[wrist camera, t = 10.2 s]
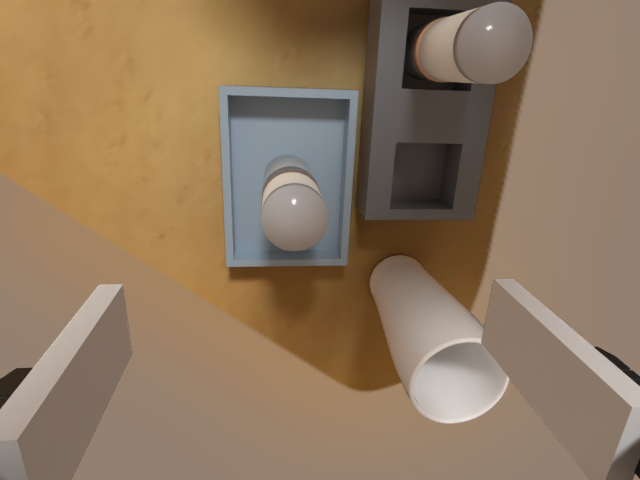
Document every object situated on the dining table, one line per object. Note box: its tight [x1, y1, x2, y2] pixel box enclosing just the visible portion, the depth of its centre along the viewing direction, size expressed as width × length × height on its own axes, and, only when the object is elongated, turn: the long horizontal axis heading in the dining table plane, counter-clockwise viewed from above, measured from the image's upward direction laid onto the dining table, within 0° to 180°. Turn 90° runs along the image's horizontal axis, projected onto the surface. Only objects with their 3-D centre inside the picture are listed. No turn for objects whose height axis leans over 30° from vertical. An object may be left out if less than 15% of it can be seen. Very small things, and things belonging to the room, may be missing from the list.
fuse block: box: [356, 0, 511, 220], centre depth 34 cm, size 16×9×4 cm, turn 178°
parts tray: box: [219, 85, 359, 267], centre depth 35 cm, size 14×10×2 cm
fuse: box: [404, 2, 533, 84], centre depth 28 cm, size 4×4×11 cm
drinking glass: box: [370, 255, 509, 424], centre depth 34 cm, size 7×7×15 cm
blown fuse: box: [261, 154, 329, 251], centre depth 31 cm, size 4×4×11 cm
